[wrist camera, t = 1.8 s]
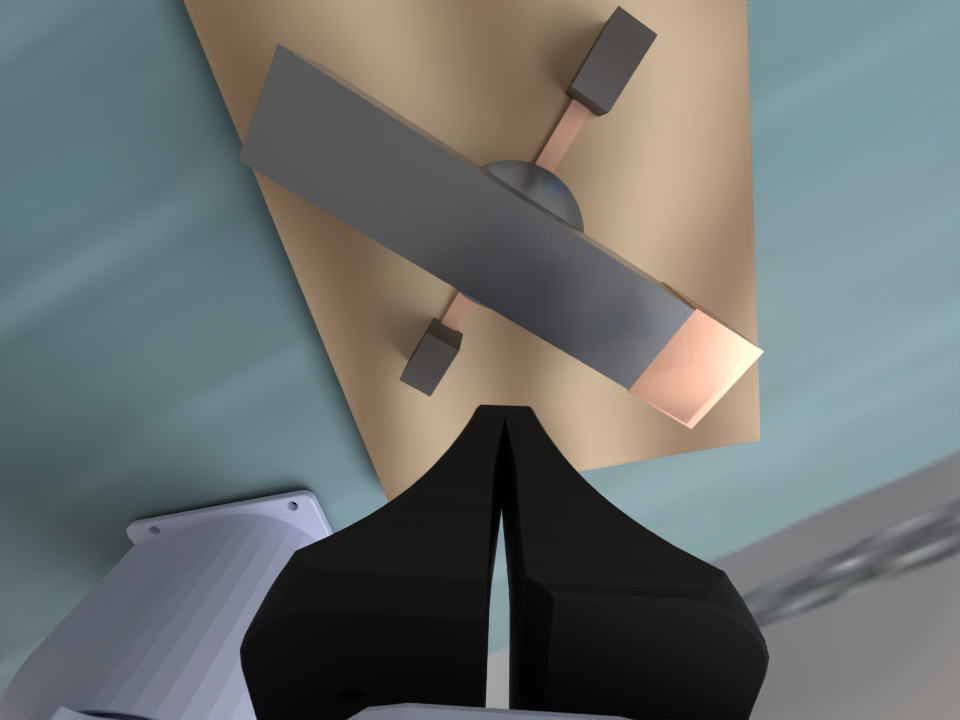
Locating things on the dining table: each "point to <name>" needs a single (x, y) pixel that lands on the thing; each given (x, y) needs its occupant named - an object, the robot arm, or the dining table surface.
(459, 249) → the copper-tipped steel bar
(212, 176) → the dining table surface
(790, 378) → the dining table surface
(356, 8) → the latch board
